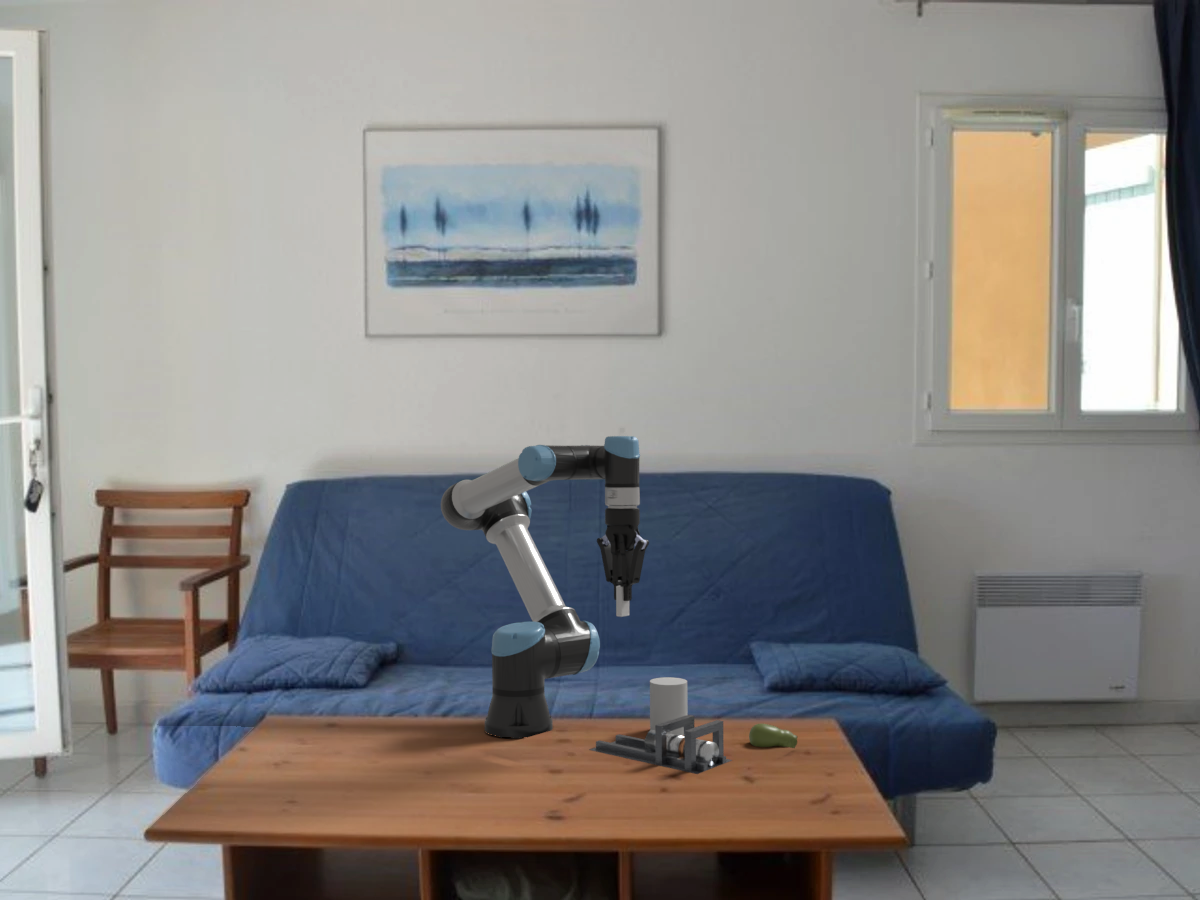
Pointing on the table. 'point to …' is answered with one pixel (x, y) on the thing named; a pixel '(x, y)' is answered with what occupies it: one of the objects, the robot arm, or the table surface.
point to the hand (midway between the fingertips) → (622, 615)
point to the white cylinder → (667, 701)
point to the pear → (771, 736)
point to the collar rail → (638, 752)
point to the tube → (676, 747)
